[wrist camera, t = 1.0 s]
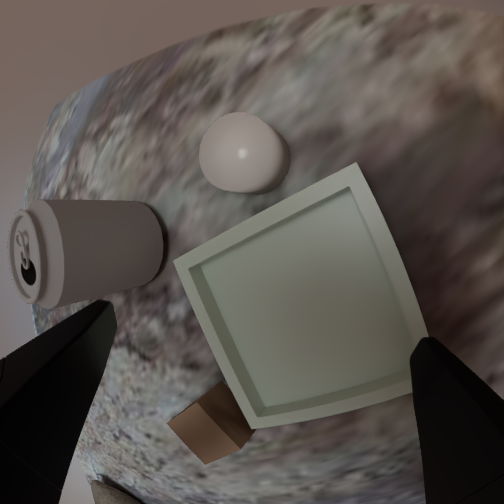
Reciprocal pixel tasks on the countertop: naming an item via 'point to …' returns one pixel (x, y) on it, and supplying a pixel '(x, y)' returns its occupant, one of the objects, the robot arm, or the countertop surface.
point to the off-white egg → (244, 154)
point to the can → (82, 249)
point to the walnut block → (213, 425)
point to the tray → (307, 305)
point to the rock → (110, 494)
